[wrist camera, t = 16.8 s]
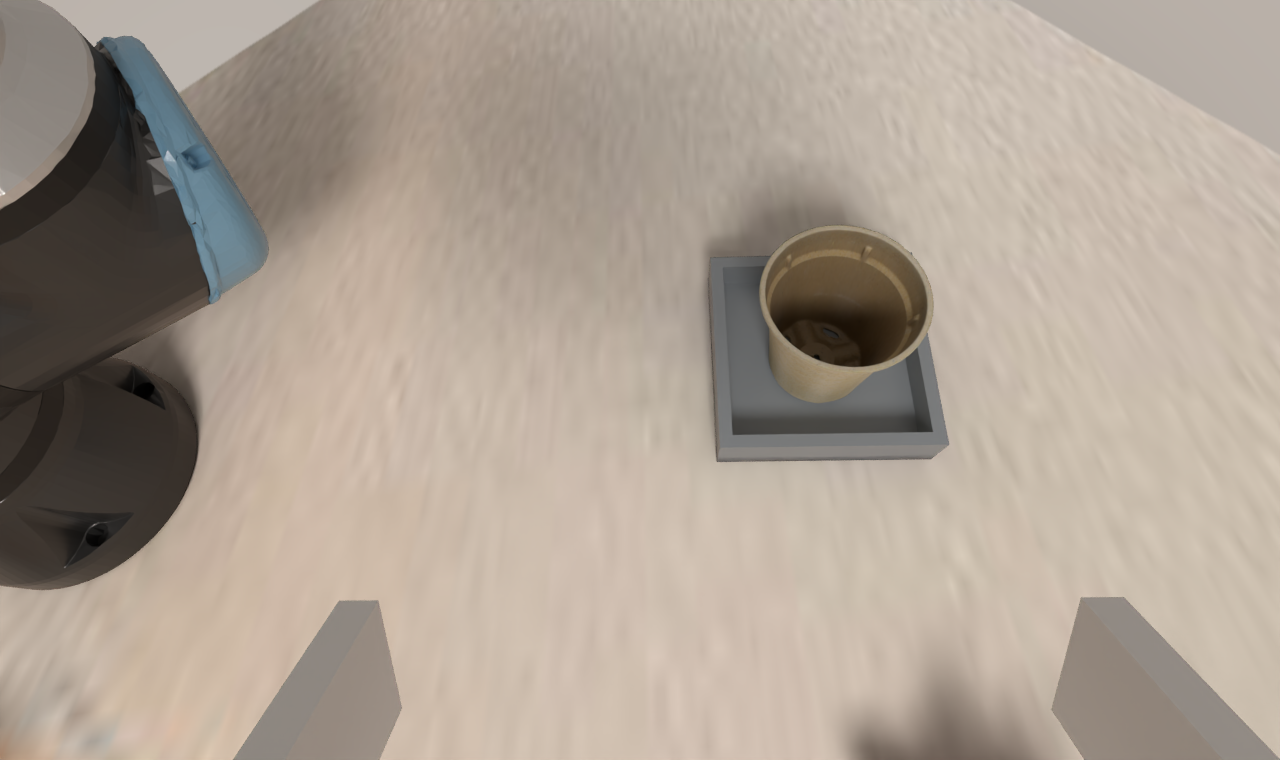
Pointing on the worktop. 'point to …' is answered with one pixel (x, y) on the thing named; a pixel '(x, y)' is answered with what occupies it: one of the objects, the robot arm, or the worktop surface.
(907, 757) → the worktop surface
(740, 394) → the tray
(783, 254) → the flower pot
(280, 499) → the worktop surface
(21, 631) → the worktop surface
